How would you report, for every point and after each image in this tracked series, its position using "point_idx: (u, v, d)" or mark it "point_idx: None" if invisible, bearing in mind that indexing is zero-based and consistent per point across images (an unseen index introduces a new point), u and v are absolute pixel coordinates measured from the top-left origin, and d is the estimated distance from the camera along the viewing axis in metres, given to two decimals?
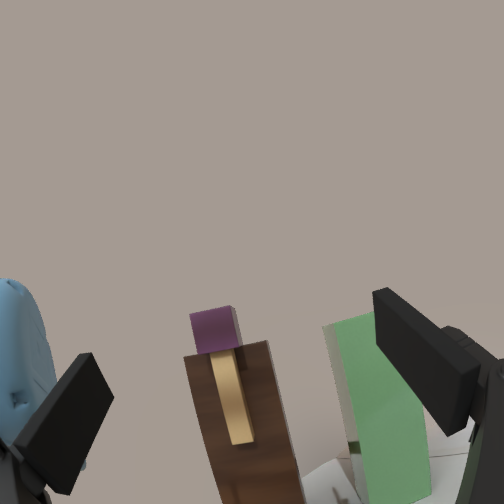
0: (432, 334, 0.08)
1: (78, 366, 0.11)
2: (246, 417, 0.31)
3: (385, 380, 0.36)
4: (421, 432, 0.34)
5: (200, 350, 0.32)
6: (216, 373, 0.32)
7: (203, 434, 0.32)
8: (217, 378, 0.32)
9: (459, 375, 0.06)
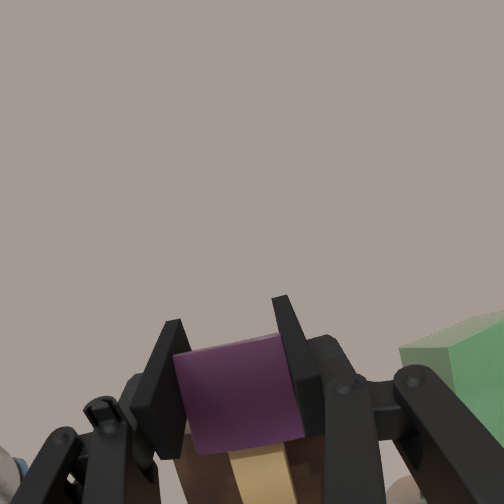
0: (294, 341, 0.10)
1: (172, 330, 0.14)
2: None
3: None
4: None
5: (203, 446, 0.11)
6: (243, 487, 0.11)
7: None
8: (246, 496, 0.11)
9: (294, 381, 0.08)
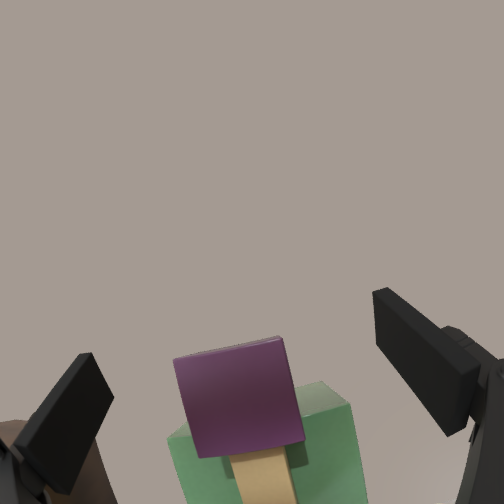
0: (432, 334, 0.08)
1: (78, 366, 0.11)
2: None
3: None
4: None
5: (204, 449, 0.11)
6: (244, 489, 0.11)
7: None
8: (246, 499, 0.11)
9: (459, 375, 0.06)
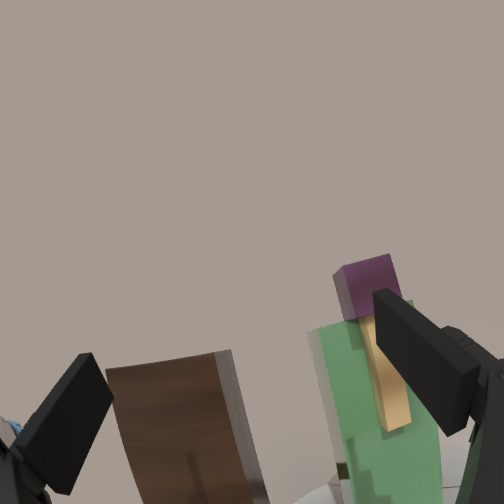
0: (432, 334, 0.08)
1: (78, 366, 0.11)
2: (406, 393, 0.23)
3: None
4: (435, 471, 0.22)
5: (359, 312, 0.24)
6: (373, 341, 0.24)
7: (133, 472, 0.21)
8: (374, 348, 0.24)
9: (459, 375, 0.06)
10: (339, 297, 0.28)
